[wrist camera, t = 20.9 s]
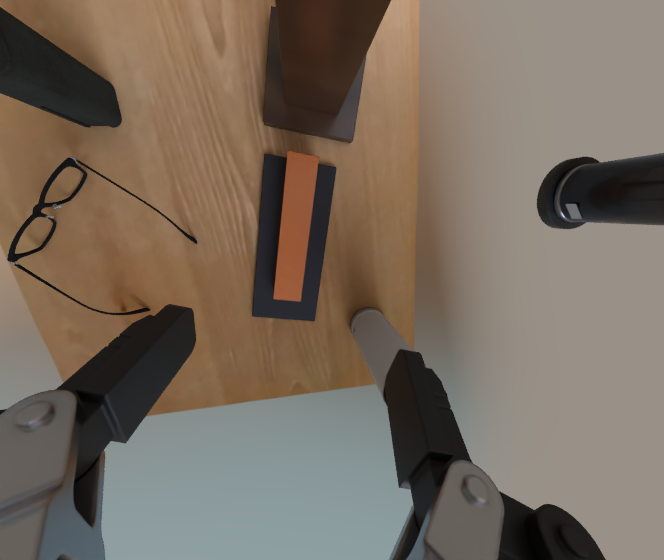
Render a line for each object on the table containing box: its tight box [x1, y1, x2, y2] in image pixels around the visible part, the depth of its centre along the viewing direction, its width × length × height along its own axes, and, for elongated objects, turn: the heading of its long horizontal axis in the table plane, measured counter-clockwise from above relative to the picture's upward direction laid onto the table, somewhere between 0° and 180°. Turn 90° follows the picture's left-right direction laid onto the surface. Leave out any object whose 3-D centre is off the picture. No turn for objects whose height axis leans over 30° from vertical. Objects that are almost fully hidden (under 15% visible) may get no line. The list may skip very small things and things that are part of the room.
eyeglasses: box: [7, 157, 197, 315], centre depth 33 cm, size 16×16×4 cm
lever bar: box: [273, 151, 319, 302], centre depth 35 cm, size 20×4×3 cm, turn 171°
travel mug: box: [350, 308, 448, 405], centre depth 34 cm, size 6×7×20 cm
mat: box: [253, 154, 336, 321], centre depth 38 cm, size 24×10×1 cm, turn 172°
